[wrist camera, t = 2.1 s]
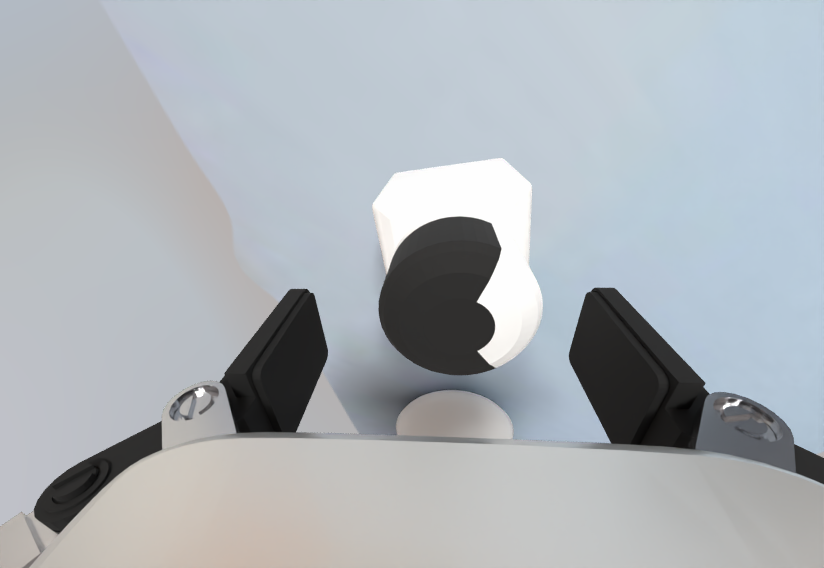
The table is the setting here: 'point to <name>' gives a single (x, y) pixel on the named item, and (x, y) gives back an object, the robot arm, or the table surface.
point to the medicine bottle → (458, 266)
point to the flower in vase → (454, 416)
